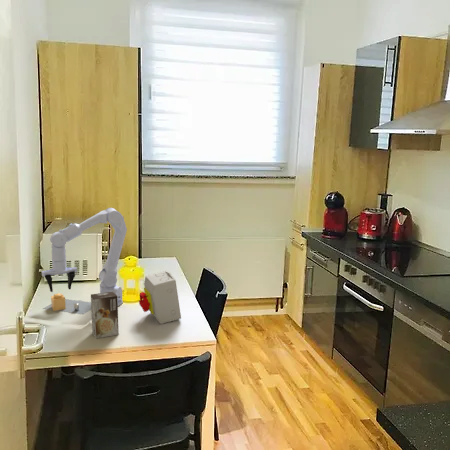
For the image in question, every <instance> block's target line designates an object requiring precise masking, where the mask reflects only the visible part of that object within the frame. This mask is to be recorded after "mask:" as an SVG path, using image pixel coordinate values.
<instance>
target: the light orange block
mask: <svg viewBox="0 0 450 450" xmlns="http://www.w3.org/2000/svg"><path fill="white" fill-rule="evenodd" d="M65 299H66V297H65V296H64V294H62V293H55V294H53V295H51V296H50V302H51V306H52V309H53V310H52V311H53V312H54V311H55V310H62V309H66V306H65Z"/></svg>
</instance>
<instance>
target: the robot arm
mask: <svg viewBox="0 0 450 450" xmlns="http://www.w3.org/2000/svg"><path fill="white" fill-rule="evenodd" d="M108 223H109V224H110V225H111V227H112V229H113V230H114V231H113V232H114V233H113V234H112V235H113V237H112V239H111V243H110V247H109V249H108V250H109V251H108V255H107V258H106V262H105V264H104V265H103V268H102V269H101V271H100V272H99V274H98V278H99V280H100V283H99V293H106V292H114V293H115V294H116V295H117V301H118V307H119V306H120V305H122V304H123V303H124V301H123V289H122V286H118V285H117V281H118V278H117V275H118V268H117V267H118V264H119V260H120V256H121V254H122V253H121V252H122V248H123V247H124V241H125V238H126V235H127V231H128V228H127V224H126V221H125V216H123V215H122V213H121V212H120V211H118V210H116V208H113V207H108V208H106V209H104V210H100V211H99V212H98V213H96V214H94V215H93V216H90V217H89V218H87V219H86V220H83V221H82V222H81V223H75V222H74V223H72V222H71V223H69V224H68V226H66V227H65V228H63V229H59V230H58V231H56V232H53V233H52V234H51V236H50V237H49V240H50V242H51V263H52V264H51V265H52V266H51V267H52V269H46V270H42V271H41V276H42V277H44V278H45V279H46V282H47V284H48V288H49V291H50V292H51V293H53V292H54V291H53V290H54V289H53V277H52V276H55V275H63V274H65V275H67V288H68V290H71V288H72V285H73V284H72V283H73V281H74V279H75V277H76V273H78V267H76V266H73V267H67V254H66V253H67V251H66V244H67V243H68V242H70V241H73V240H74V239H76V238H78V237H80V236H81V235H82V233H83V231H86V230H87V229H89V228H91V227H93V226H96V225H98V224H108Z"/></svg>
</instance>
